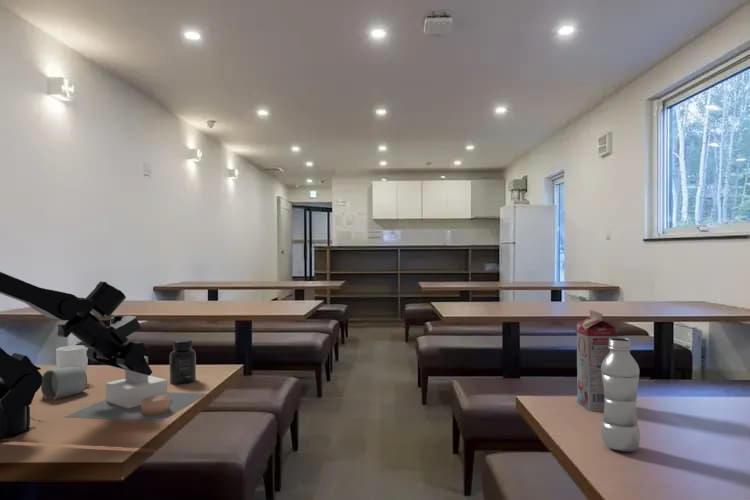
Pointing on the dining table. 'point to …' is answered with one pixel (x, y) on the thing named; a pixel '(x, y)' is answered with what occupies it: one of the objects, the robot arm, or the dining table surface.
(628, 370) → the plastic bottle
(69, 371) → the ceramic mug
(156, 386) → the cover
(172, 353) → the supplement bottle
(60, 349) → the white cup
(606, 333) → the juice carton
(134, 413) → the mat
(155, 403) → the tan short cylinder
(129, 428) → the dining table surface
